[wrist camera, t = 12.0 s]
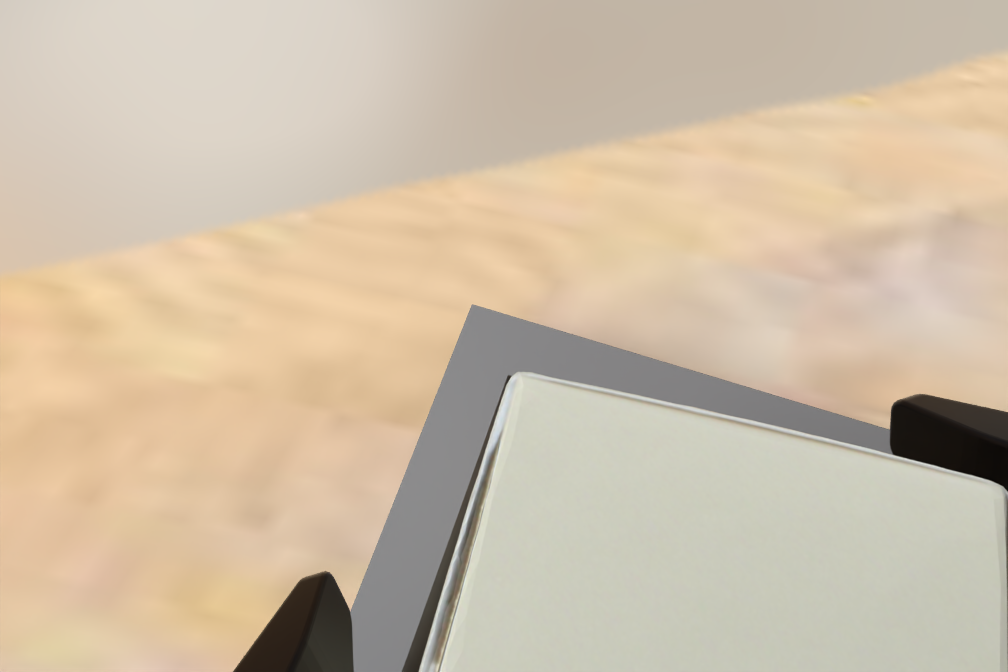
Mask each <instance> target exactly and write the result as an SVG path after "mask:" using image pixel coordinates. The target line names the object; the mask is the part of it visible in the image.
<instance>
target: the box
mask: <svg viewBox="0 0 1008 672" xmlns="http://www.w3.org/2000/svg"><path fill="white" fill-rule="evenodd" d="M419 672H1008V492H1007V491H1006V489H1005V488H1004V487H1003V486H1001V485H999V484H997V483H995V482H992V481H990V480H986V479H983V478H979V477H976V476H972V475H968V474H964V473H960V472H956V471H952V470H948V469H945V468H941V467H938V466H934V465H930V464H926V463H922V462H918V461H914V460H910V459H906V458H902V457H899V456H895V455H891V454H888V453H884V452H880V451H876V450H873V449H869V448H865V447H861V446H857V445H852V444H848V443H844V442H840V441H836V440H832V439H828V438H824V437H820V436H816V435H811V434H807V433H803V432H799V431H795V430H791V429H787V428H783V427H778V426H774V425H770V424H765V423H761V422H756V421H753V420H748V419H744V418H739V417H734V416H729V415H725V414H721V413H717V412H713V411H709V410H705V409H701V408H696V407H692V406H686V405H680V404H675V403H670V402H666V401H662V400H657V399H653V398H649V397H644V396H640V395H635V394H631V393H626V392H621V391H617V390H612V389H607V388H603V387H598V386H593V385H588V384H583V383H578V382H572V381H567V380H562V379H557V378H552V377H548V376H544V375H540V374H537V373H533V372H517V373H515V374H514V375H513V376H512V377H511V378H510V380H509V382H508V383H507V385H506V388H505V391H504V394H503V397H502V400H501V403H500V406H499V410H498V413H497V416H496V419H495V422H494V425H493V428H492V431H491V434H490V438H489V441H488V444H487V447H486V450H485V454H484V457H483V460H482V463H481V467H480V470H479V473H478V476H477V479H476V482H475V485H474V488H473V491H472V494H471V497H470V500H469V503H468V507H467V510H466V513H465V517H464V520H463V523H462V527H461V531H460V534H459V538H458V541H457V544H456V547H455V550H454V554H453V557H452V560H451V563H450V566H449V570H448V573H447V576H446V579H445V583H444V586H443V590H442V593H441V597H440V600H439V603H438V607H437V610H436V614H435V617H434V621H433V624H432V627H431V631H430V634H429V638H428V641H427V645H426V648H425V651H424V655H423V658H422V662H421V665H420V669H419Z"/></svg>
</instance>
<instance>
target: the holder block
mask: <svg viewBox="0 0 1008 672" xmlns="http://www.w3.org/2000/svg"><path fill="white" fill-rule="evenodd" d="M517 372H533V373H537V374H540V375H544V376H548V377H552V378H557V379H562V380H567V381H572V382H578V383H583V384H588V385H593V386H598V387H603V388H607V389H612V390H617V391H621V392H626V393H631V394H635V395H640V396H644V397H649V398H653V399H657V400H662V401H666V402H670V403H675V404H680V405H686V406H692V407H696V408H701V409H705V410H709V411H713V412H717V413H721V414H725V415H729V416H734V417H739V418H744V419H748V420H753V421H756V422H761V423H765V424H770V425H774V426H778V427H783V428H787V429H791V430H795V431H799V432H803V433H807V434H811V435H816V436H820V437H824V438H828V439H832V440H836V441H840V442H844V443H848V444H852V445H857V446H861V447H865V448H869V449H873V450H876V451H880V452H884V453H888V454H891V455H893V453H892V451H891V448H890V430H888V429H885V428H882V427H878V426H875V425H872V424H869V423H865V422H862V421H859V420H855V419H852V418H849V417H845V416H842V415H839V414H835V413H832V412H829V411H825V410H822V409H819V408H815V407H812V406H809V405H805V404H802V403H799V402H795V401H792V400H789V399H785V398H782V397H779V396H775V395H772V394H769V393H765V392H762V391H759V390H755V389H752V388H749V387H746V386H742V385H739V384H736V383H732V382H729V381H726V380H722V379H719V378H716V377H712V376H709V375H706V374H702V373H699V372H696V371H692V370H689V369H686V368H682V367H679V366H676V365H672V364H669V363H666V362H662V361H659V360H656V359H652V358H649V357H646V356H642V355H639V354H636V353H632V352H629V351H626V350H623V349H619V348H616V347H613V346H609V345H606V344H603V343H599V342H596V341H593V340H589V339H586V338H583V337H579V336H576V335H573V334H569V333H566V332H563V331H559V330H556V329H553V328H549V327H546V326H543V325H539V324H536V323H533V322H529V321H526V320H523V319H519V318H516V317H513V316H509V315H506V314H503V313H500V312H496V311H493V310H490V309H486V308H483V307H480V306H476V305H473V304H472V306H471V308H470V311H469V313H468V316H467V318H466V321H465V324H464V326H463V329H462V331H461V334H460V336H459V339H458V341H457V344H456V346H455V349H454V351H453V354H452V356H451V359H450V361H449V364H448V366H447V369H446V372H445V374H444V377H443V379H442V382H441V384H440V387H439V389H438V392H437V394H436V397H435V399H434V402H433V404H432V407H431V409H430V412H429V414H428V417H427V420H426V422H425V425H424V427H423V430H422V432H421V435H420V437H419V440H418V442H417V445H416V447H415V450H414V452H413V455H412V457H411V460H410V462H409V465H408V468H407V470H406V473H405V475H404V478H403V480H402V483H401V485H400V488H399V490H398V493H397V495H396V498H395V500H394V503H393V505H392V508H391V510H390V513H389V516H388V518H387V521H386V523H385V526H384V528H383V531H382V533H381V536H380V538H379V541H378V543H377V546H376V548H375V551H374V553H373V556H372V558H371V561H370V564H369V566H368V569H367V571H366V574H365V576H364V579H363V581H362V584H361V586H360V589H359V591H358V594H357V596H356V599H355V601H354V604H353V606H352V609H351V612H350V614H351V619H352V634H353V663H354V672H419V669H420V665H421V662H422V658H423V655H424V651H425V648H426V645H427V641H428V638H429V634H430V631H431V627H432V624H433V621H434V617H435V614H436V610H437V607H438V603H439V600H440V597H441V593H442V590H443V586H444V583H445V579H446V576H447V573H448V570H449V566H450V563H451V560H452V557H453V554H454V550H455V547H456V544H457V541H458V538H459V534H460V531H461V527H462V523H463V520H464V517H465V513H466V510H467V507H468V503H469V500H470V497H471V494H472V491H473V488H474V485H475V482H476V479H477V476H478V473H479V470H480V467H481V463H482V460H483V457H484V454H485V450H486V447H487V444H488V441H489V438H490V434H491V431H492V428H493V425H494V422H495V419H496V416H497V413H498V410H499V406H500V403H501V400H502V397H503V394H504V391H505V388H506V385H507V383H508V382H509V380H510V378H511V377H512V376H513V375H514V374H515V373H517Z"/></svg>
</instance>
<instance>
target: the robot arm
mask: <svg viewBox="0 0 1008 672" xmlns="http://www.w3.org/2000/svg"><path fill="white" fill-rule="evenodd" d="M890 448H891V451H892V453H893V455H895V456H899V457H902V458H906V459H910V460H914V461H918V462H922V463H926V464H930V465H934V466H938V467H941V468H945V469H948V470H952V471H956V472H960V473H964V474H968V475H972V476H976V477H979V478H983V479H986V480H990V481H992V482H995V483H997V484H999V485H1001V486H1003V487H1004V488H1005V489H1006V491H1007V492H1008V412H1004V411H1000V410H995V409H990V408H986V407H981V406H977V405H972V404H967V403H963V402H958V401H953V400H949V399H944V398H940V397H935V396H930V395H925V394H917V395H913V396H910V397H907V398H903V399H900V400H897V401H896V402H894V404H893V406H892V408H891V422H890ZM233 672H354V663H353V634H352V619H351V614H350V610H349V608H348V605H347V603H346V601H345V599H344V597H343V595H342V593H341V591H340V589H339V587H338V585H337V583H336V581H335V579H334V577H333V576H332V574H331V573H330V572H326V571H324V572H321V573H317V574H314V575H311V576H307V577H305V578H302V579H301V580H300V581H299V582H298V583H297V585H296V586H295V587H294V589H293V590H292V591H291V593H290V594H289V596H288V597H287V598H286V600H285V601H284V602H283V604H282V605H281V607H280V608H279V609H278V611H277V612H276V613H275V615H274V616H273V618H272V619H271V620H270V622H269V623H268V624H267V626H266V627H265V629H264V630H263V631H262V633H261V634H260V635H259V637H258V638H257V640H256V641H255V642H254V644H253V645H252V646H251V648H250V649H249V651H248V652H247V653H246V655H245V656H244V657H243V659H242V660H241V662H240V663H239V664H238V666H237V667H236V668H235V670H234V671H233Z"/></svg>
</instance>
